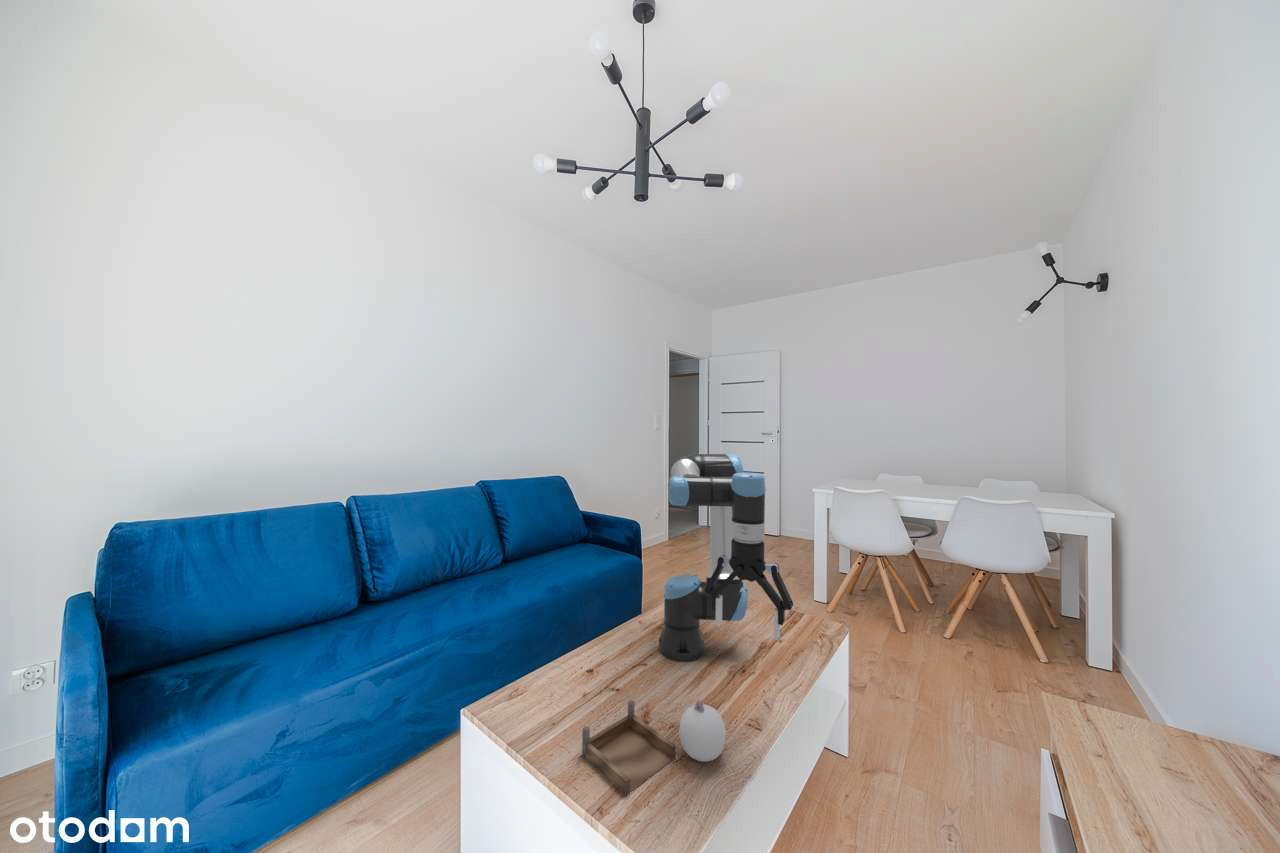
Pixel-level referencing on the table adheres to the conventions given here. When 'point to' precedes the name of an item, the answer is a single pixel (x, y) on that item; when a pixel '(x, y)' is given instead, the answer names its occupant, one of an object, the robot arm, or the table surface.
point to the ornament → (702, 732)
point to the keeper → (628, 751)
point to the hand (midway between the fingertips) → (746, 630)
